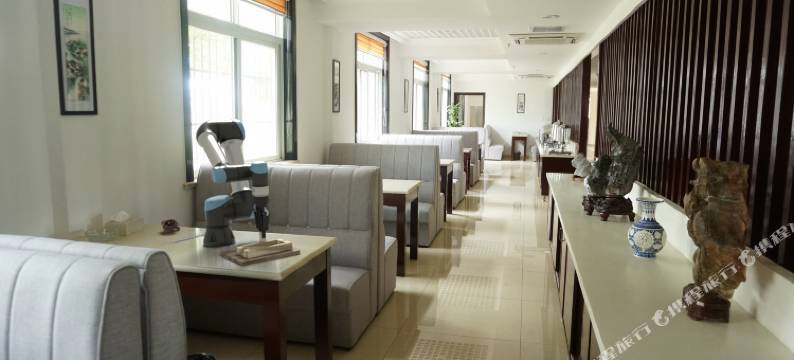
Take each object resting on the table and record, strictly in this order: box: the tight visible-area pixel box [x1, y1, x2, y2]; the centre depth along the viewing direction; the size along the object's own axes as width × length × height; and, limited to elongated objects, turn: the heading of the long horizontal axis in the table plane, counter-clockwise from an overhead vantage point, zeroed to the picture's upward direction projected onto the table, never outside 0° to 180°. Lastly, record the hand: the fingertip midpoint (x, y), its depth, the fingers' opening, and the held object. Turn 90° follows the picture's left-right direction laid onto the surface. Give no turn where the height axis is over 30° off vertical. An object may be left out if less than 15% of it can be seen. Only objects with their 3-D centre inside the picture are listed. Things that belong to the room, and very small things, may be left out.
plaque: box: [169, 232, 205, 244], centre depth 286 cm, size 33×10×1 cm, turn 149°
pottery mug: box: [160, 218, 181, 235], centre depth 300 cm, size 12×10×8 cm
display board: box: [218, 247, 301, 267], centre depth 251 cm, size 24×28×2 cm
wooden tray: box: [234, 237, 293, 259], centre depth 249 cm, size 12×22×3 cm, turn 132°
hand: (263, 244), depth 259 cm, fingers closed
